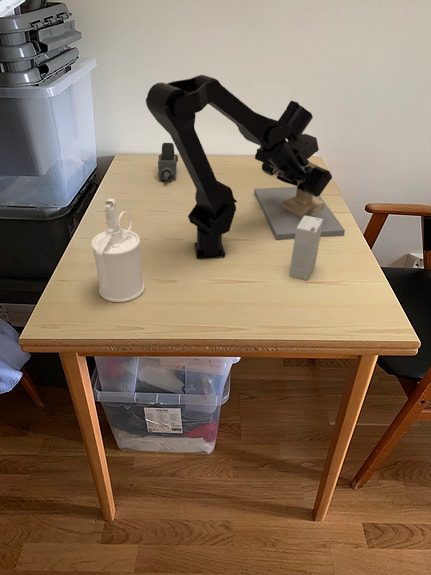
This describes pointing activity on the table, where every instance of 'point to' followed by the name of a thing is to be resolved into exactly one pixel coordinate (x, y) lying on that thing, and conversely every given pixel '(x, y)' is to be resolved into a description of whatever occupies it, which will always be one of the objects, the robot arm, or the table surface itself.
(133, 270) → the smoke grenade
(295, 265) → the skincare box
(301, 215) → the wooden block tower
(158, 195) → the table surface
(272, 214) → the board
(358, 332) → the table surface
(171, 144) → the caster wheel
